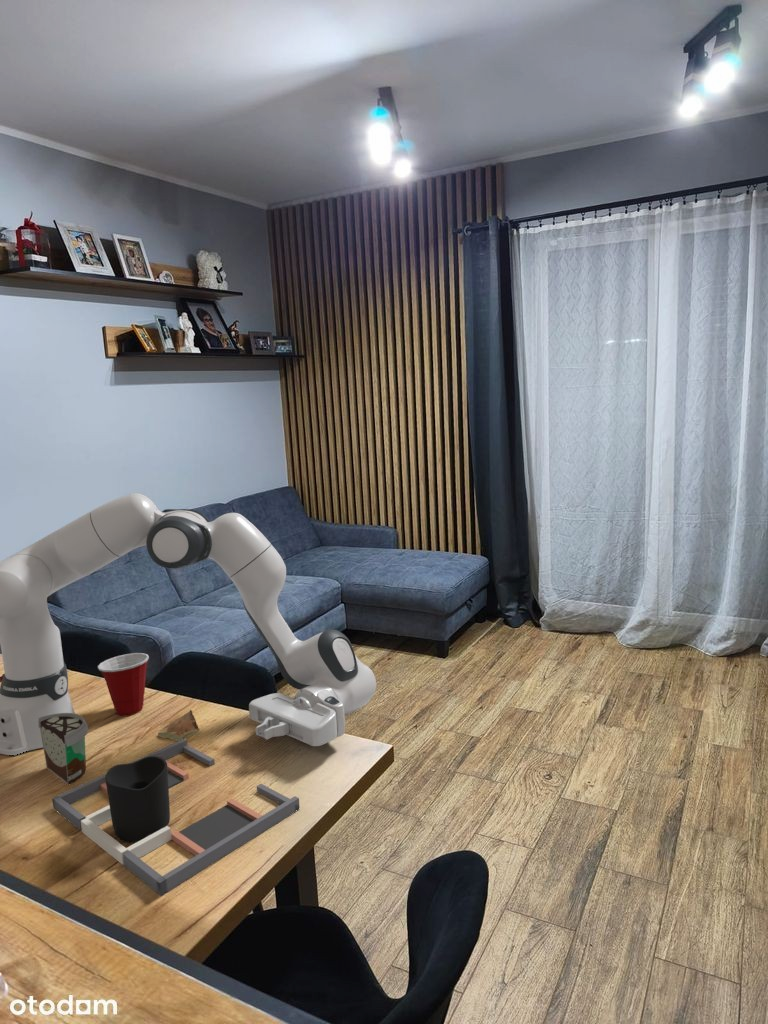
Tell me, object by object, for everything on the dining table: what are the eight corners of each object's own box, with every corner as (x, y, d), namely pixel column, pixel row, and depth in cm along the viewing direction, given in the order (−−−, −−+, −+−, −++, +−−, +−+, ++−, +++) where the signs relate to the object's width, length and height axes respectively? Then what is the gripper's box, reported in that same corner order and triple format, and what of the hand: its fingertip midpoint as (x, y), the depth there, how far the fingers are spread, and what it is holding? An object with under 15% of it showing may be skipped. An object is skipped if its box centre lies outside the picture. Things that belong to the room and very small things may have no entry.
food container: (104, 773, 130) (99, 723, 128) (72, 787, 126) (65, 736, 124) (75, 753, 138) (69, 705, 137) (43, 765, 134) (37, 717, 132)
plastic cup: (130, 696, 164) (125, 648, 162) (164, 704, 159) (159, 654, 157) (92, 715, 155) (86, 664, 153) (126, 724, 150) (120, 672, 148)
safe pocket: (126, 807, 119) (125, 797, 118) (171, 839, 110) (170, 828, 109) (80, 830, 113) (79, 819, 112) (124, 866, 104) (123, 854, 103)
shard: (191, 716, 154) (190, 708, 153) (219, 721, 151) (218, 713, 150) (156, 738, 144) (156, 730, 144) (186, 744, 141) (185, 736, 141)
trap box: (184, 748, 139) (183, 738, 138) (299, 809, 116) (298, 798, 116) (53, 808, 119) (52, 798, 119) (161, 895, 97) (159, 883, 97)
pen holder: (133, 807, 119) (127, 753, 117) (183, 812, 117) (177, 757, 115) (99, 842, 110) (92, 784, 108) (153, 848, 108) (146, 789, 106)
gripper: (279, 680, 147) (225, 703, 137) (349, 706, 134) (295, 733, 124) (281, 708, 148) (228, 733, 138) (350, 736, 135) (297, 766, 125)
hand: (260, 733), depth 131 cm, fingers closed
